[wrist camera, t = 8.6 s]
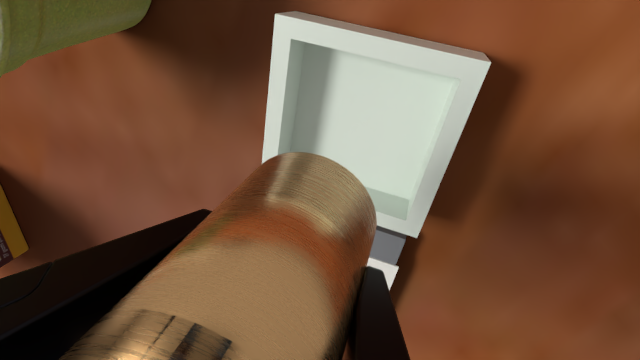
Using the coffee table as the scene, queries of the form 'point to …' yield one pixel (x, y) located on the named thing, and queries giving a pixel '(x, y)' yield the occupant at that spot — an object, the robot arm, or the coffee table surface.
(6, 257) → the supplement box
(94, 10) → the plant pot
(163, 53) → the coffee table surface
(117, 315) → the copper cell
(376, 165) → the trough
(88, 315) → the robot arm
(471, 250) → the coffee table surface
